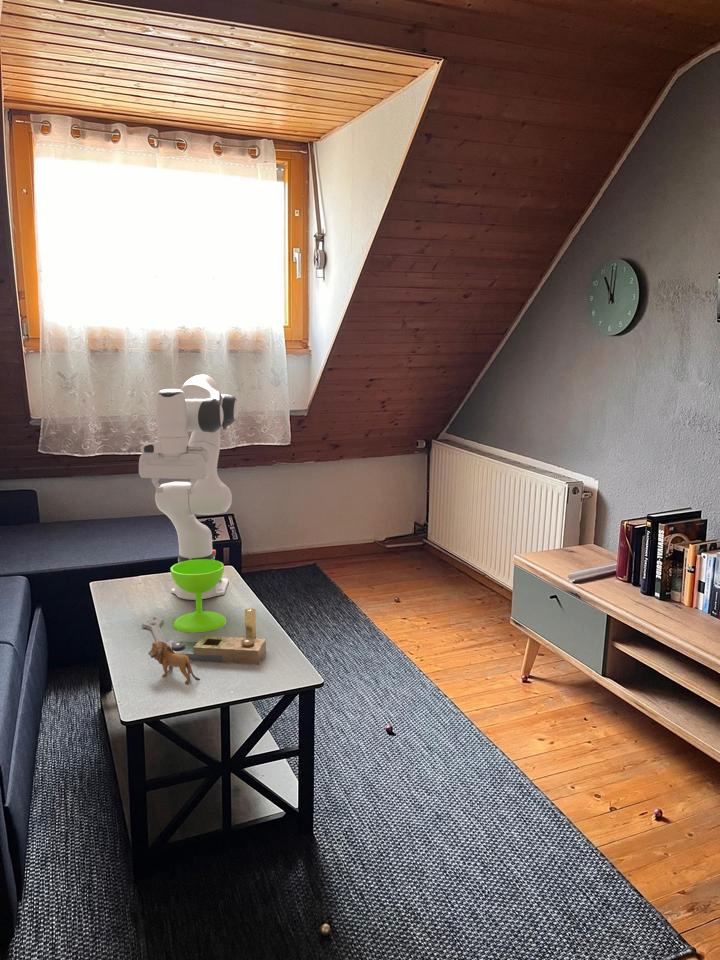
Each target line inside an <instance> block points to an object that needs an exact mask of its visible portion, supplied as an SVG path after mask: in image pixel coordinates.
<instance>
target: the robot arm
mask: <svg viewBox="0 0 720 960" xmlns="http://www.w3.org/2000/svg"><path fill="white" fill-rule="evenodd" d="M183 383H184V384H182V386H181V387H180V388H166V389H161V390H159V391H158V392H157V394H156V400H155V422H156V426H157V432H156V440H154V441H151V442H148V443H146V444H142V445H141V446H140V452H141V453H142V454H141V455H140V456H139V459H138V460H139V461H138V475H139V476H140V478H141V479H142V478H143V479H151V483H152V484H153V486H154V488H155V495H154V500H155V505H156V507H157V508H158V509H159V511H160V512H162V513H163V514H164V515H165V516H167V517H168V519H169V520H170V521H171V523H172V524H173V526H174V527H175V531H176V533H177V539H178V541H177V542H178V551H179V552H178V554H177V556H178V558H177V561H178V562H177V563H180V562H183V561H188V560H197V559H208V560H216V559H215V558H216V554H217V551H216V549H213V535H212V534H213V533H212V531H211V529H210V528H209V527H208V526H207V525H206V524H204V523H201V522H200V521H199V520H198V519H197V517H196V516H195V515H209V516H210V515H217V514H218V515H219V514H223V513H224V514H225V513H226V512H227V511H228V510H229V509H230V508H231V505H232V502H233V495H232V491H231V489H230V488H229V487H228V485H227V484H225V483H224V482H223V481H222V480H221V479H220V477H219V475H218V462H219V457H220V456H219V455H220V451H221V428H222V429H223V431H224V430H226V429H227V428H228V427H229V426H231V425H232V424H233V423H235V421H236V419H237V417H238V413H239V403H238V401H237V399H236V397H235V396H234V395H233V394H228V393H225V394H223V393H221V392H220V391H219V390H218V385H217V383H216V380H215V379H214V378H213V377H211V375H208V374H197V375H194V376H191V377H190V378H189V379H187V380H186V381H185V382H183ZM189 432H191V435H190V437H189ZM160 479H176V480H180V479H181V480H189V481H171V482H165V483H161V484H160V483H159V481H160ZM228 582H229V579H228V578H226V577H223V576H222V577H221V579H220V581H219V582H218V584H217V585H216V586H215V587H213V588H212V589H211V590H209V591H207V592H203V593H202V600H204V599H210V598H213V597H218V596H223V595H225V593H226V591H227V588H228V586H229V583H228ZM170 593H171V594H174V595H175V596H176V597H177V598H179V599H183V600H190V601H191V600H194V601H196V595H195V593H190V592H187V591H185V590H183V589H181V588H180V587H179V586H178V585H177V584H176V583H175V582H174V587H173V588H171V590H170Z"/></svg>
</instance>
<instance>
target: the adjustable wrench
mask: <svg viewBox="0 0 720 960" xmlns="http://www.w3.org/2000/svg"><path fill="white" fill-rule="evenodd" d="M152 618H153V619H152V620H151V621H150V620H148V619H146V618H144V619H142V621H141V628H142V629H147V630H150V631H151V632H152V635H153V638H154V640H155V642H156V641H160V642H163V643H165V644H167V643H168V642H167V639H166V637H165V636H164V635H165V634H164V633H163V632H162V630H161V628H160V627H161V626H163V624H164V619H163V617H161V616H159V615H155V616H153V617H152Z"/></svg>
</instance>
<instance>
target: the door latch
mask: <svg viewBox="0 0 720 960" xmlns="http://www.w3.org/2000/svg"><path fill="white" fill-rule="evenodd" d="M167 645H168V646H170V647H171V648H172V650H173V652H175V653H178V654H185V655H187V656H188V657H189V658H190V662H202V661H203V662H204V663H205V662H206V663H208V662H209V663H222V664H223V663H224V664H239V665H242V664H243V665H255V666H257V665H260V663H261V662H262V660H263V659H264V656H265V655H266V654H267V639H266V638H256V639H255V638H246V637H235V636H234V637H232V636H215V635H203V636H202V637H201V638H200V639H199V640H198V641H186V640H185V641H184V640H183V641H182V640H169V641H168V642H167ZM191 660H192V661H191Z"/></svg>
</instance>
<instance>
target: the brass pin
mask: <svg viewBox="0 0 720 960" xmlns="http://www.w3.org/2000/svg"><path fill="white" fill-rule="evenodd" d="M256 613H257V611H256V609H255V608H254V607H249V608H245V610H244V621H245V622H244V624H245V626H244V627H245V638H255V639H257V619H256V618H257V616H256V615H257V614H256Z"/></svg>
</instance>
